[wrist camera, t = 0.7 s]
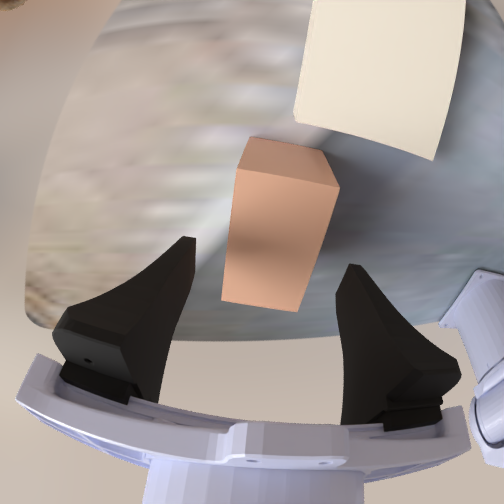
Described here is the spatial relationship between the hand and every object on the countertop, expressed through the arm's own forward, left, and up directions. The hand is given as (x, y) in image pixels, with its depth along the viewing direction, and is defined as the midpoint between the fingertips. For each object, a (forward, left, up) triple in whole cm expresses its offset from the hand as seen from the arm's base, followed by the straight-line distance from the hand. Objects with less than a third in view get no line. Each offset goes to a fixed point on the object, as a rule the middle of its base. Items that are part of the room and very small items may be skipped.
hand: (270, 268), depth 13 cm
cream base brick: (-4, -12, -8) cm, 15 cm away
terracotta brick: (0, 0, -7) cm, 7 cm away
